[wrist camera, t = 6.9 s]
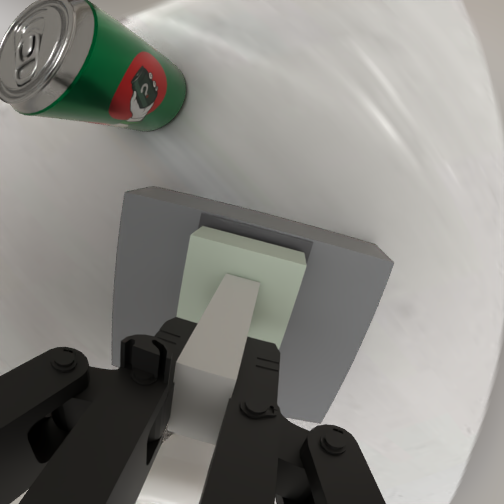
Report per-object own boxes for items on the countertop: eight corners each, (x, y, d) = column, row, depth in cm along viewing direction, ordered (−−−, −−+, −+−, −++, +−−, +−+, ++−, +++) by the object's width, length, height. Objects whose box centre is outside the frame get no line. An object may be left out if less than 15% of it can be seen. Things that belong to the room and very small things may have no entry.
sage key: (185, 315, 17) (173, 333, 15) (202, 225, 15) (190, 234, 13) (276, 340, 16) (274, 361, 14) (304, 252, 15) (306, 265, 13)
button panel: (134, 337, 23) (110, 366, 19) (153, 186, 20) (123, 192, 16) (317, 388, 23) (320, 425, 19) (375, 244, 20) (395, 263, 16)
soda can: (184, 53, 17) (85, -36, 6) (193, 122, 19) (80, 81, 7) (117, 73, 18) (-8, 26, 7) (124, 139, 19) (-15, 133, 8)
